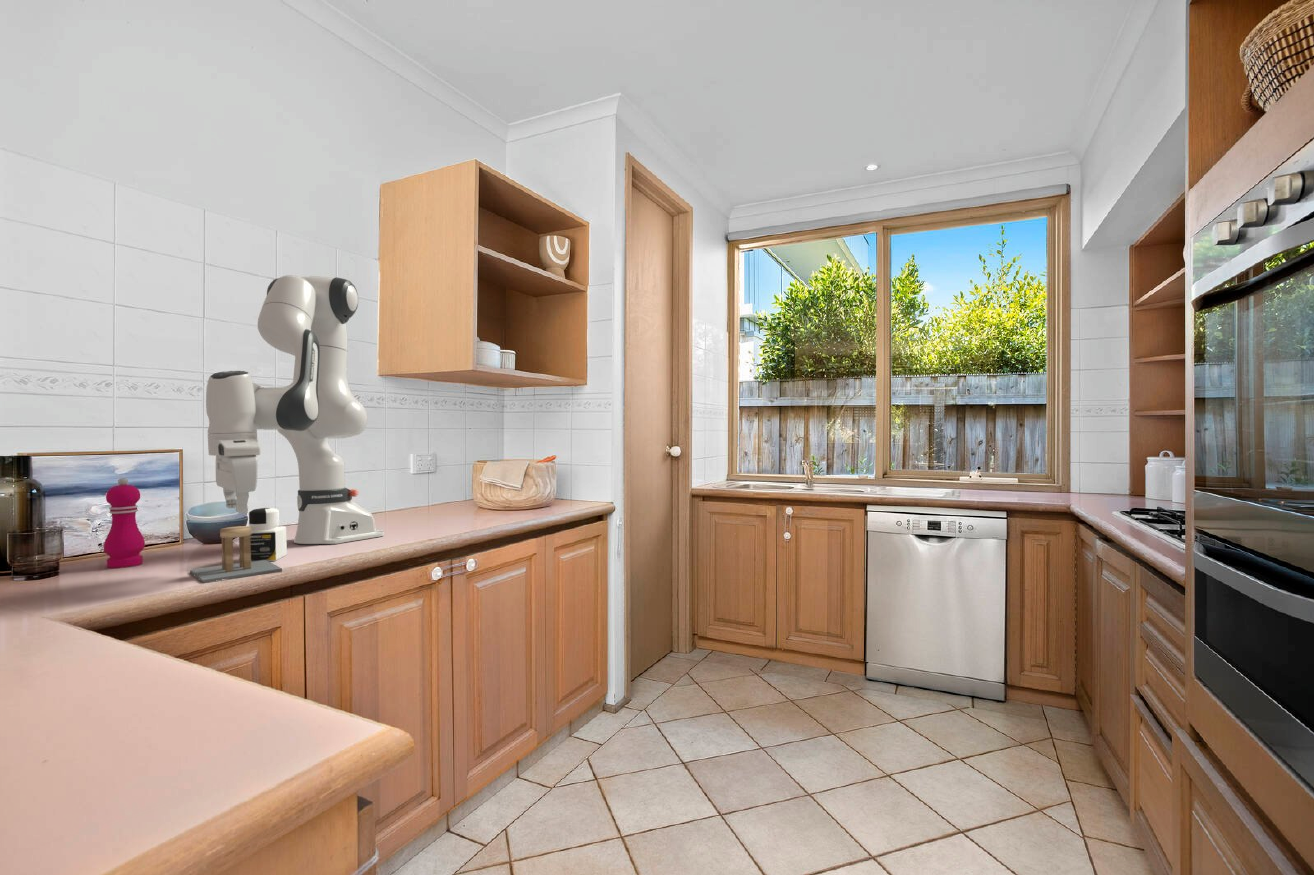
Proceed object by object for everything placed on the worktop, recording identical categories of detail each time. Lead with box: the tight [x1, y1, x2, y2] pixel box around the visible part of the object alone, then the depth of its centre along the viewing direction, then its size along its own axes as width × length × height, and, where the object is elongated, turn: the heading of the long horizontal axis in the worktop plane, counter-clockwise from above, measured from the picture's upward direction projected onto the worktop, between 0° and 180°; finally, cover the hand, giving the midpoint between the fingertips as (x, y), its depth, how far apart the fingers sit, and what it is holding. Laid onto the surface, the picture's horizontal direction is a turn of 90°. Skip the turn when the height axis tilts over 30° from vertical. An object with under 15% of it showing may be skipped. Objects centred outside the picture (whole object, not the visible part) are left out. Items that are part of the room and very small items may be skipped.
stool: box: [219, 525, 251, 572], centre depth 135 cm, size 6×6×9 cm
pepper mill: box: [103, 477, 146, 569], centre depth 144 cm, size 7×7×20 cm
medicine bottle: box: [248, 507, 288, 562], centre depth 149 cm, size 7×7×12 cm
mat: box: [189, 559, 283, 583], centre depth 135 cm, size 14×14×1 cm
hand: (236, 510), depth 136 cm, fingers open, 8 cm apart
